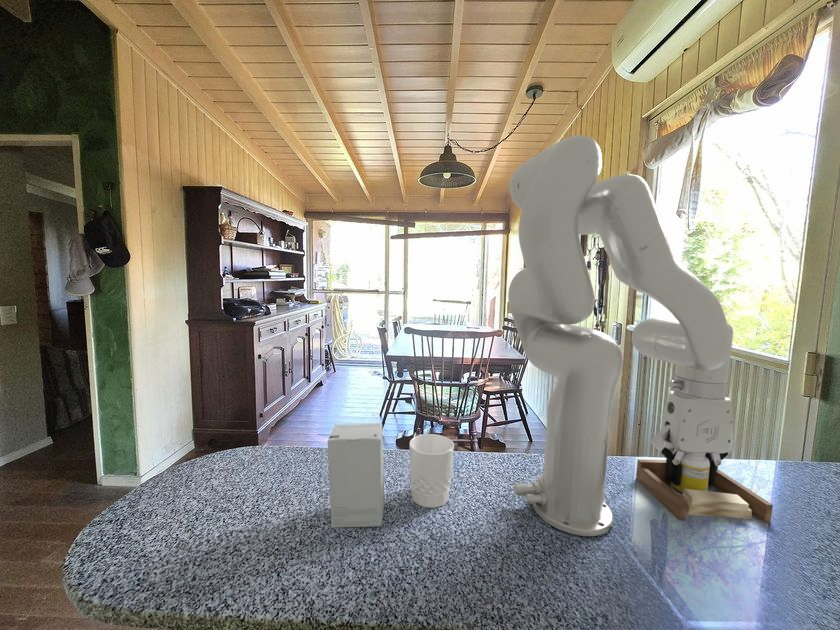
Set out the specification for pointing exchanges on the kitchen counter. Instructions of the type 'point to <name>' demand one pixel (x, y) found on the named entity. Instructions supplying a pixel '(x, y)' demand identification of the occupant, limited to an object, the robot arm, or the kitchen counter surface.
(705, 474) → the supplement bottle
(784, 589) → the kitchen counter surface
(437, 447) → the white cup
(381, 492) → the skincare box
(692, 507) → the middle offcut
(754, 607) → the kitchen counter surface
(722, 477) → the walnut rack
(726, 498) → the top offcut
